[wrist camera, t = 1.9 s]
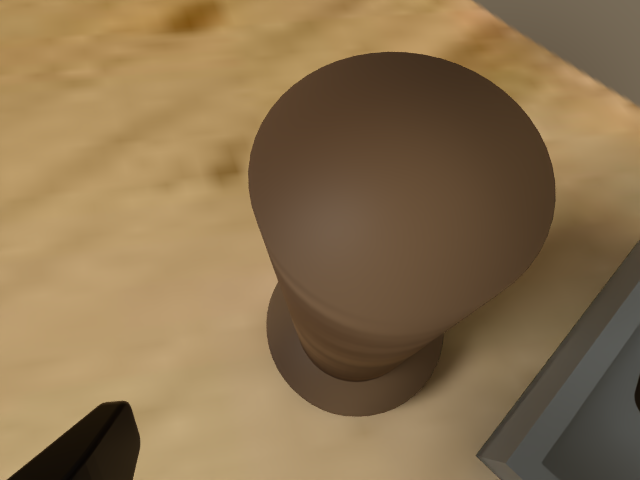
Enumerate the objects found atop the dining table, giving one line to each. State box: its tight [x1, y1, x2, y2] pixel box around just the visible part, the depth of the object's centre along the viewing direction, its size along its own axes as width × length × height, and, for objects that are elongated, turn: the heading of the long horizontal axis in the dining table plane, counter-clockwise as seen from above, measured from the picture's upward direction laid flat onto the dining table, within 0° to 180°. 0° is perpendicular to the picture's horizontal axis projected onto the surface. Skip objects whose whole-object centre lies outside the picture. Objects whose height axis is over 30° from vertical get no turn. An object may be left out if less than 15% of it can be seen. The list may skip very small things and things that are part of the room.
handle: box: [248, 52, 555, 416], centre depth 13 cm, size 7×7×13 cm
